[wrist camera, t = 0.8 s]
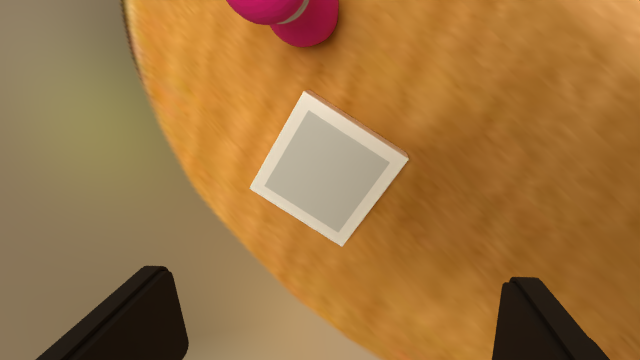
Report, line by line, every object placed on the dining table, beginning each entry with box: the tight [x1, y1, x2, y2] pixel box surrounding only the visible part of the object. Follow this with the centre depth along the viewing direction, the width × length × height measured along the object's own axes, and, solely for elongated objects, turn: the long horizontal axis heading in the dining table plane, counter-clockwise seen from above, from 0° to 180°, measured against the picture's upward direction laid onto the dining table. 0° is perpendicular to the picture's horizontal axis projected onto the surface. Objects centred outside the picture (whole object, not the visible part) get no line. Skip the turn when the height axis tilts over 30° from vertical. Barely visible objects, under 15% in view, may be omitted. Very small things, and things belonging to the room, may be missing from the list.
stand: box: [250, 90, 409, 247], centre depth 39 cm, size 14×14×3 cm
